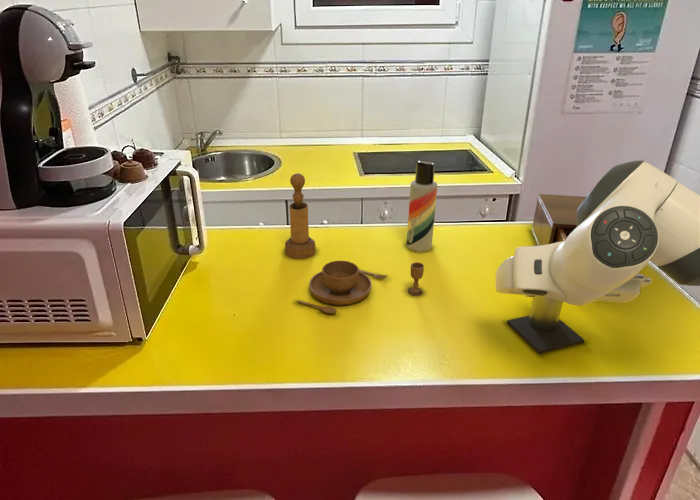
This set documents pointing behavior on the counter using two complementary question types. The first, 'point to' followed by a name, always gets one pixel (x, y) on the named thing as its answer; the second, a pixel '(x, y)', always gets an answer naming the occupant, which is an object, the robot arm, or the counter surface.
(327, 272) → the place setting
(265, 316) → the counter surface
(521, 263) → the robot arm
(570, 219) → the cabinet
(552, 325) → the spice jar
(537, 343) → the mat
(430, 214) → the lotion bottle
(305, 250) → the mortar and pestle
